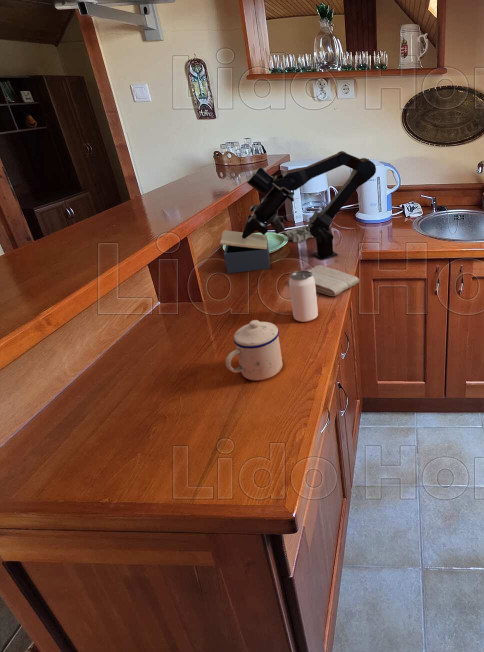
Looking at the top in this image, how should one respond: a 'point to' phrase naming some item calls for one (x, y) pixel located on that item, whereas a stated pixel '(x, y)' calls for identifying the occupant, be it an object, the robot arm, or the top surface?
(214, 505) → the top surface
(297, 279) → the can
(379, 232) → the top surface
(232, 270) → the toy box
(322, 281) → the washcloth
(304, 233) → the egg carton
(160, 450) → the top surface
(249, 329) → the teacup with lid
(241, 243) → the lid
